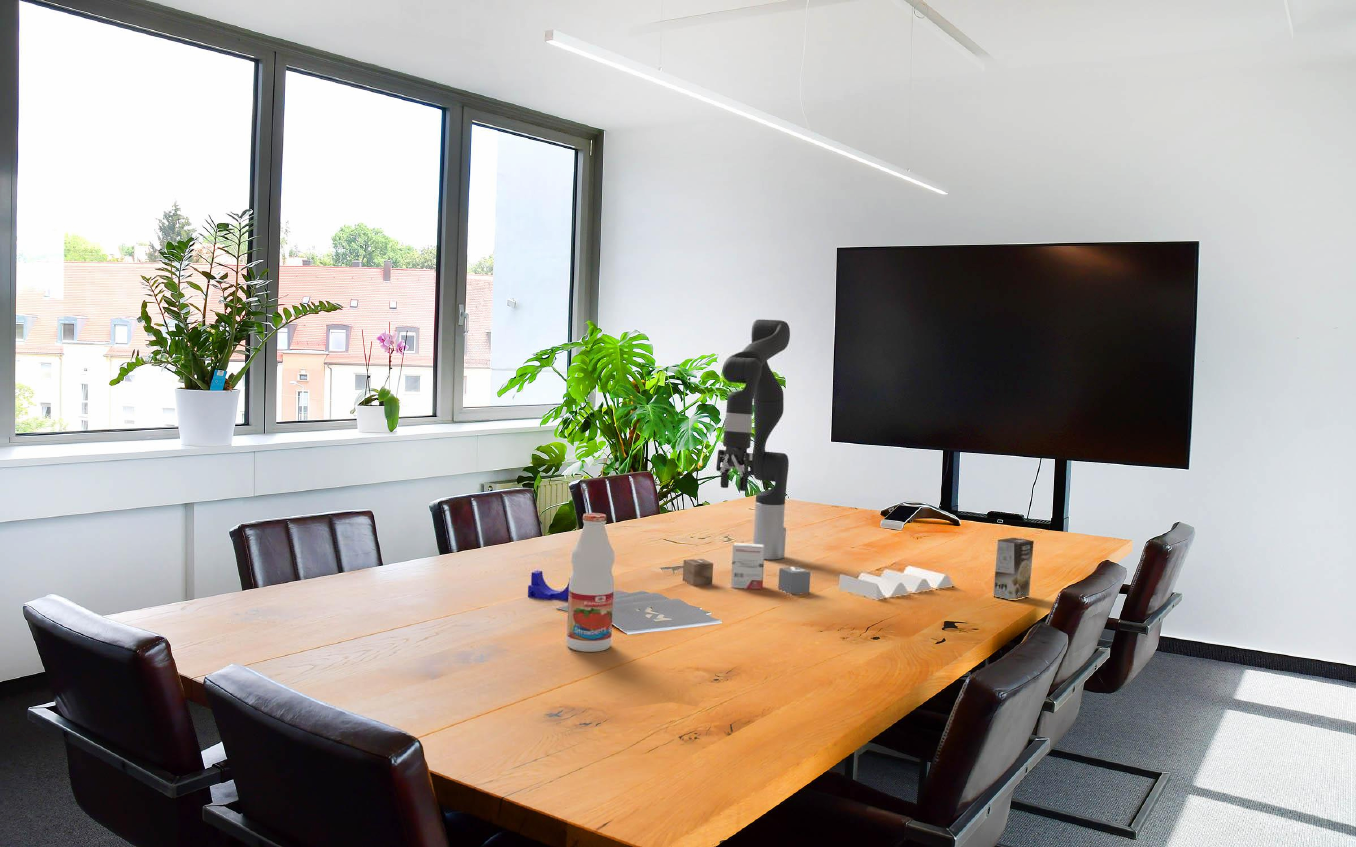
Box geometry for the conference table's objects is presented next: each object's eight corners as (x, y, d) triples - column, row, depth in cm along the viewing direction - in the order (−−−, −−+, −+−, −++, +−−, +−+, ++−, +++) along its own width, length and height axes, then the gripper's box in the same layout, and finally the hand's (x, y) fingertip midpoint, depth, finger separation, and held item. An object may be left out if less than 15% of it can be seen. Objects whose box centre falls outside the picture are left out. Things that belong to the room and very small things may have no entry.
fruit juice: (602, 638, 214) (608, 510, 212) (617, 651, 206) (623, 518, 204) (560, 641, 210) (566, 511, 209) (574, 654, 202) (580, 518, 200)
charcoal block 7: (796, 588, 271) (797, 565, 271) (809, 593, 266) (810, 570, 266) (778, 589, 269) (779, 566, 268) (790, 595, 263) (792, 571, 263)
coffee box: (1014, 602, 268) (1018, 543, 267) (992, 597, 273) (996, 539, 272) (1029, 597, 275) (1034, 540, 274) (1008, 592, 279) (1012, 536, 278)
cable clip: (527, 597, 247) (528, 573, 246) (536, 593, 251) (537, 570, 251) (571, 603, 243) (572, 579, 242) (579, 599, 247) (580, 576, 247)
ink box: (762, 586, 272) (765, 543, 271) (762, 590, 267) (764, 547, 266) (731, 583, 273) (733, 541, 272) (730, 587, 268) (732, 544, 267)
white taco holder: (955, 588, 284) (956, 571, 284) (875, 603, 262) (877, 584, 262) (917, 579, 294) (919, 562, 294) (838, 592, 272) (839, 573, 272)
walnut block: (701, 579, 276) (702, 557, 275) (712, 584, 270) (713, 562, 270) (682, 581, 273) (683, 558, 272) (692, 586, 268) (694, 563, 267)
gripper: (764, 432, 267) (760, 492, 267) (733, 429, 279) (729, 487, 279) (742, 431, 263) (737, 491, 263) (711, 428, 275) (707, 486, 275)
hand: (733, 489), depth 271 cm, fingers open, 8 cm apart
